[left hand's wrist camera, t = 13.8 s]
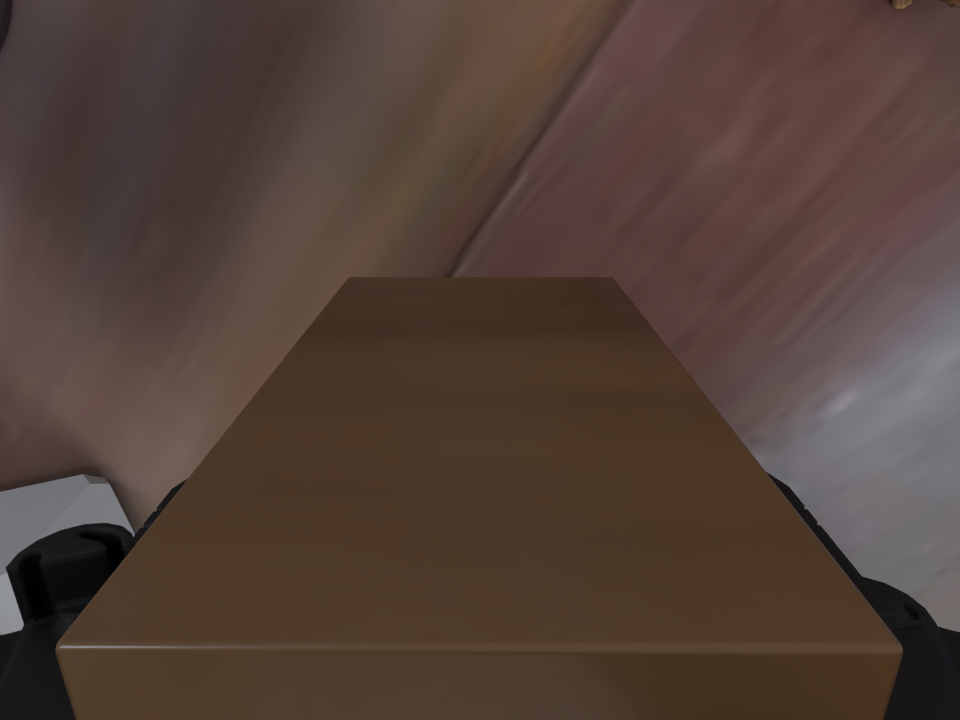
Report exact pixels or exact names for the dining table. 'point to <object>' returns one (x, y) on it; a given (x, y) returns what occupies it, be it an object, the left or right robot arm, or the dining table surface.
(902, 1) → the lion figurine
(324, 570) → the box
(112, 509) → the electronic device
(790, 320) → the dining table surface
